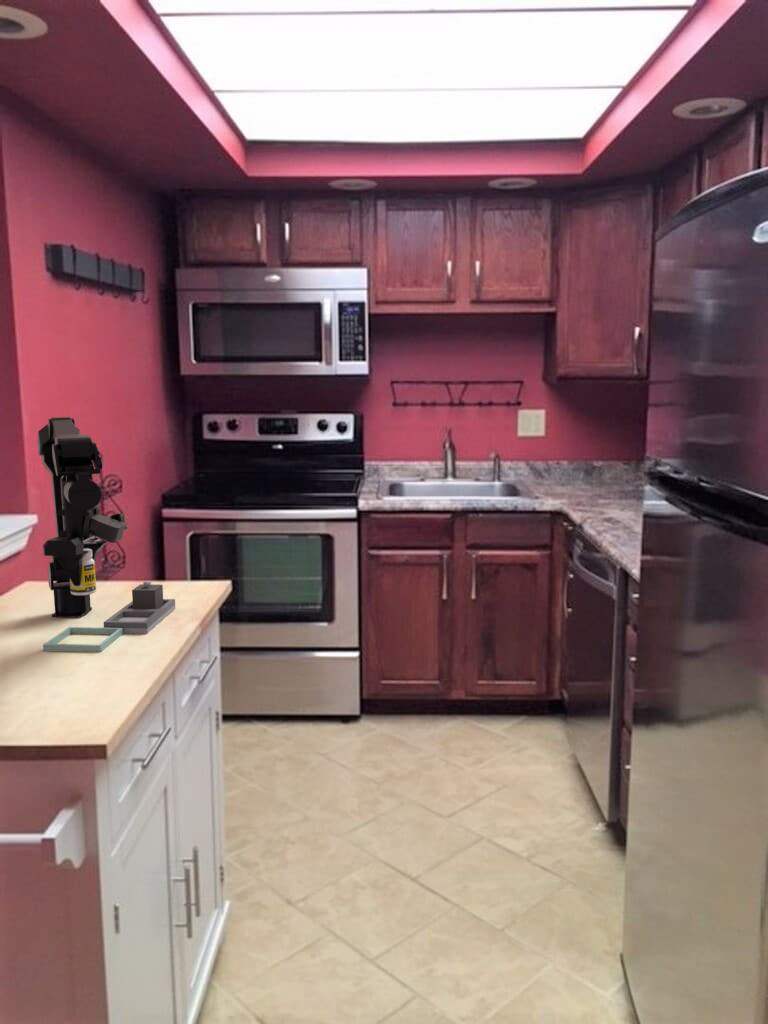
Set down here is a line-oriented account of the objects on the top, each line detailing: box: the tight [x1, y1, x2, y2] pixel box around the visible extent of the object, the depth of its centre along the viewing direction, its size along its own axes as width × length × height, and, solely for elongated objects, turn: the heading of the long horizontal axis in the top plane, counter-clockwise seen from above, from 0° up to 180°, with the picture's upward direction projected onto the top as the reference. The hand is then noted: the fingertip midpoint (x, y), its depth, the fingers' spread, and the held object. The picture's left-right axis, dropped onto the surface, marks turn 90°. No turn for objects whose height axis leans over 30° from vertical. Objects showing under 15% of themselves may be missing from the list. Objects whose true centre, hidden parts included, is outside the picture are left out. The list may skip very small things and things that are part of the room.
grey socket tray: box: [103, 598, 177, 634], centre depth 179 cm, size 9×18×2 cm, turn 176°
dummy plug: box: [131, 580, 164, 609], centre depth 183 cm, size 5×5×6 cm
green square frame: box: [42, 626, 124, 653], centre depth 164 cm, size 11×11×1 cm
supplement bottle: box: [70, 549, 97, 595], centre depth 163 cm, size 5×5×8 cm
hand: (83, 582), depth 163 cm, fingers closed on supplement bottle, 5 cm apart
